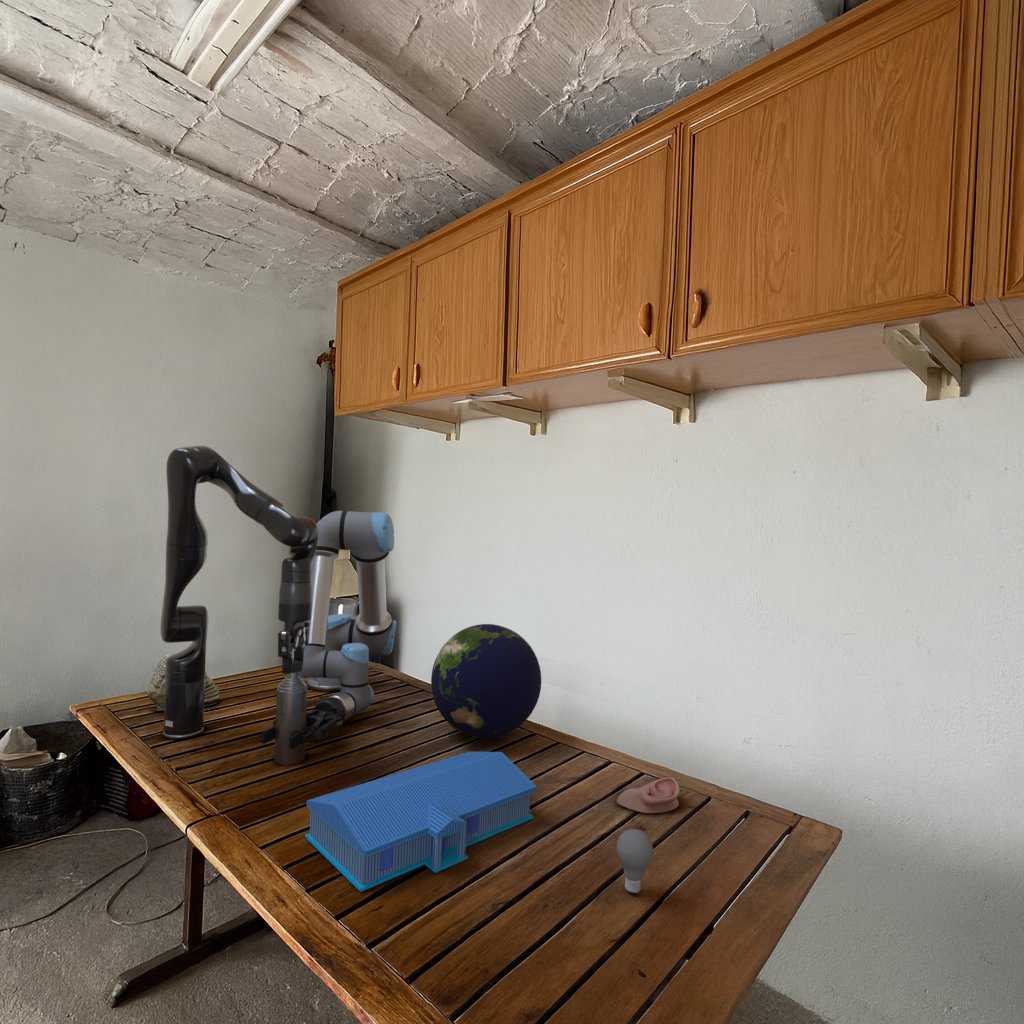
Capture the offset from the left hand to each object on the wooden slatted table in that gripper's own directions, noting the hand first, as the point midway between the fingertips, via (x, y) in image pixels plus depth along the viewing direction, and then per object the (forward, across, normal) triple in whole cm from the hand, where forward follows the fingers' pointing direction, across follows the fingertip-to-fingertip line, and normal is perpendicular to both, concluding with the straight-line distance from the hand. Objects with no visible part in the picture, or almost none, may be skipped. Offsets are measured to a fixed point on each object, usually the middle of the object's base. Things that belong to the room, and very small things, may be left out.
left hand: (292, 669), depth 152 cm
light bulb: (+22, -44, -75) cm, 90 cm away
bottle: (+22, 0, 0) cm, 22 cm away
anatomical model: (+22, -12, -84) cm, 87 cm away
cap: (-1, 0, 0) cm, 1 cm away
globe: (+22, +22, -45) cm, 55 cm away
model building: (+22, -29, -38) cm, 53 cm away
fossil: (+22, +32, +44) cm, 58 cm away
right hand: (+15, -5, +1) cm, 16 cm away
